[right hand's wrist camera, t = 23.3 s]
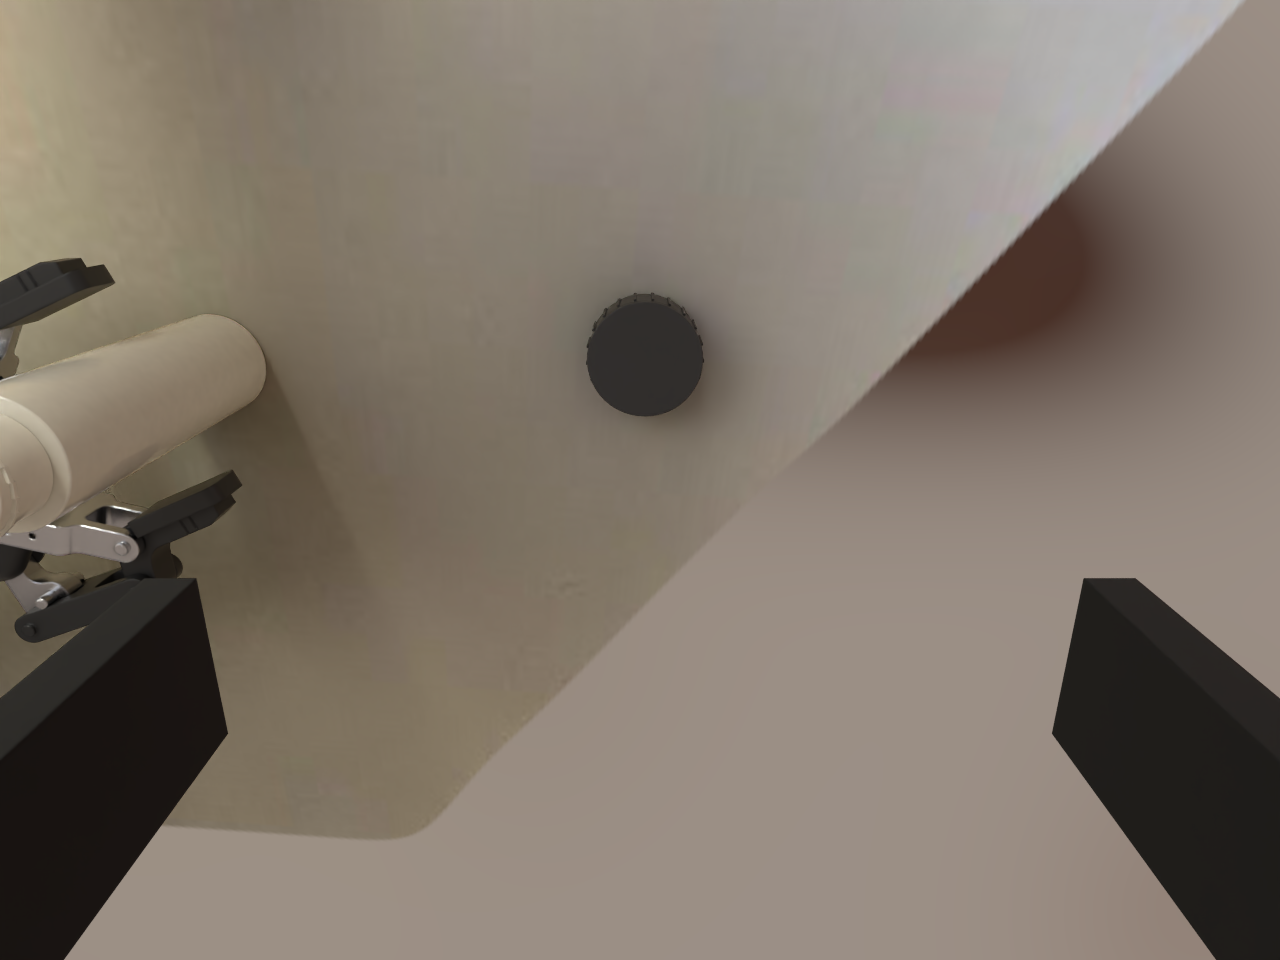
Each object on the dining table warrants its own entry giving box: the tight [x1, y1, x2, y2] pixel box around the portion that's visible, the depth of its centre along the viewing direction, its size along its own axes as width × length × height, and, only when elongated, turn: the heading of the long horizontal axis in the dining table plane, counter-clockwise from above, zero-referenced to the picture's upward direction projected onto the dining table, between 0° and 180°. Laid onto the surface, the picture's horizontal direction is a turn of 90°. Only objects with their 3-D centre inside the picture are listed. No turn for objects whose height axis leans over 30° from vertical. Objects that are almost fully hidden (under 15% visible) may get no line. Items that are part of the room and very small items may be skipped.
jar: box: [0, 314, 266, 537], centre depth 30 cm, size 4×4×16 cm
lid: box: [586, 293, 704, 416], centre depth 36 cm, size 5×5×2 cm
